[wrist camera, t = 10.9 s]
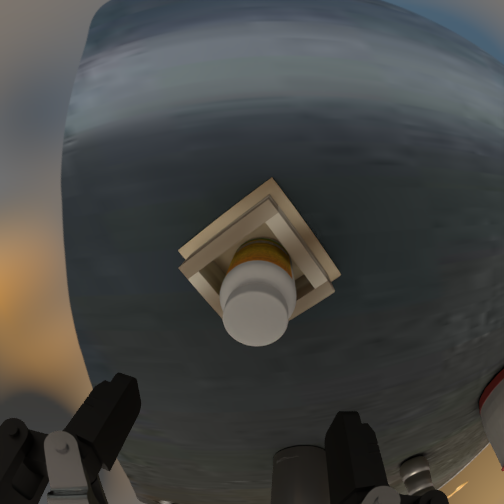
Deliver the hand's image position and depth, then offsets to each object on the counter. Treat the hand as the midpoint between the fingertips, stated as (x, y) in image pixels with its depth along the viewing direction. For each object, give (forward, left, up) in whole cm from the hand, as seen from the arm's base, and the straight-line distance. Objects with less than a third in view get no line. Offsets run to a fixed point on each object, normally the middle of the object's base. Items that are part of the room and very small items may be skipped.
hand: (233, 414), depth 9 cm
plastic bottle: (-56, +1, -18) cm, 59 cm away
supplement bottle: (0, 0, -17) cm, 17 cm away
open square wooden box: (0, 0, -18) cm, 18 cm away
